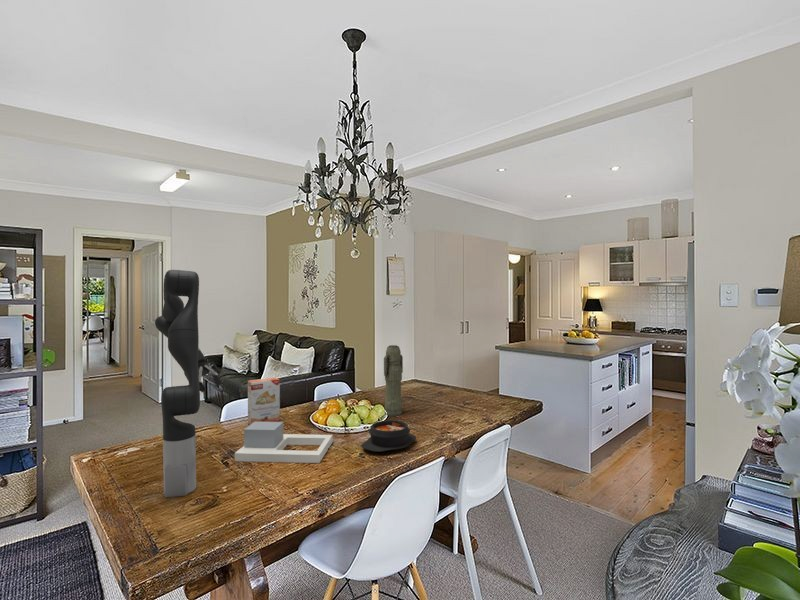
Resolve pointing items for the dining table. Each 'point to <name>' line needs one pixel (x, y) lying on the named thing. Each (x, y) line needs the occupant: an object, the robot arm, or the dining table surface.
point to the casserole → (388, 436)
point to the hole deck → (288, 455)
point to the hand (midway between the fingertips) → (212, 387)
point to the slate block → (263, 434)
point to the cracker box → (264, 400)
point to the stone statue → (393, 380)
